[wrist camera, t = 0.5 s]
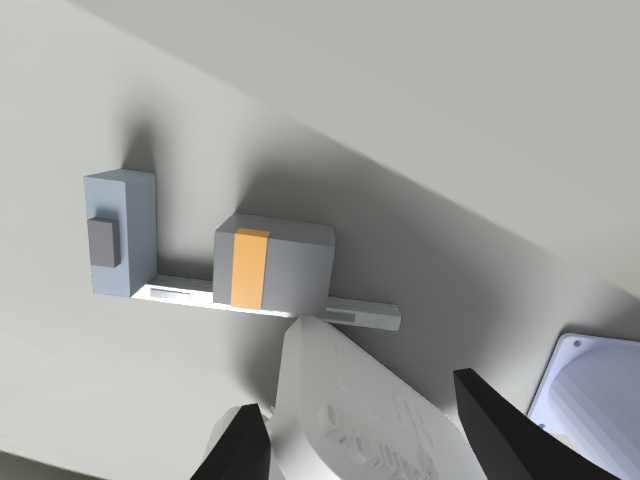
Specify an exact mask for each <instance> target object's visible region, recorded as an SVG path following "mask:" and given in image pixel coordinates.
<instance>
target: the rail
mask: <svg viewBox="0 0 640 480" xmlns="http://www.w3.org/2000/svg"><path fill="white" fill-rule="evenodd" d="M212 294H213V281H207V280H199V279H191V278H184V277H176V276H168V275H160V274H157V275H156V276H155V277H153V278H152V279H151V280H150V281H149V282H148V283H147V284H145V285H144V286H143V287H142V288H141V289H140V290H139V291H137V292H136V293H135V294H134V295H133V296H132V298H140V299H148V300H156V301H164V302H171V303H179V304H187V305H195V306H203V307H211V308H219V309H227V310H235V311H243V312H251V313H258V314H266V315H274V316H282V317H290V318H299V317H300V316H301V315H302V314H295V313H287V312H279V311H271V310H263V309H261V311H257V310H249V309H241V308H233V307H231V305H224V304H216V303H212ZM315 317H316V318H319V319H320V320H322V321H323V322H330V323H338V324H345V325H353V326H361V327H369V328H377V329H385V330H393V331H398V330H399V326H400V322H401V318H402V317H401V314H400V312H399V309H398V307H397V305H394V304H386V303H378V302H370V301H362V300H355V299H347V298H339V297H331V296H328V299H327V305H326V312H325V317H319V316H315Z"/></svg>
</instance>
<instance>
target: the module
mask: <svg viewBox="0 0 640 480" xmlns="http://www.w3.org/2000/svg"><path fill="white" fill-rule="evenodd" d="M335 249H336V245H335V234H334V226H331V225H324V224H316V223H309V222H301V221H294V220H287V219H279V218H272V217H264V216H257V215H249V214H242V213H234V214H233V215H232V216H231V217H229V218H228V219H227V220H226V221H225V222H224V223H223V224H222V225H221V226H220V227H219V228H218V229H217V230H216V231H215V245H214V269H213V294H212V303H216V304H224V305H231V307H233V308H241V309H249V310H257V311H261V309H263V310H271V311H279V312H287V313H295V314H303V315H311V316H319V317H325V312H326V305H327V299H328V293H329V286H330V280H331V274H332V268H333V261H334V255H335Z"/></svg>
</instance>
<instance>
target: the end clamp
mask: <svg viewBox="0 0 640 480" xmlns="http://www.w3.org/2000/svg"><path fill="white" fill-rule="evenodd" d="M84 185H85V198H86V210H87V224H88V236H89V249H90V261H91V271H92V283H93V293H95V294H103V295H111V296H119V297H127V298H131V297H132V296H133V295H134V294H135V293H136V292H137V291H139V290H140V289H141V288H142V287H143V286H144V285H145V284H147V283H148V282H149V281H150V280H151V279H152V278H153V277H155V276H156V275H157V226H156V174H155V173H148V172H141V171H133V170H126V169H117V170H112V171H108V172H103V173H98V174H93V175H88V176H84Z"/></svg>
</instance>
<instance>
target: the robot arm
mask: <svg viewBox="0 0 640 480" xmlns="http://www.w3.org/2000/svg"><path fill="white" fill-rule="evenodd" d="M575 341H577V342H576V343H574V342H575ZM453 374H454V382H455V390H456V399H457V407H458V415H459V418H460V420H461V423H462V426H463V428H464V431H465V434H466V436H467V439H468V441H469V444H470V446H471V448H472V450H473V452H474V454H475V456H476V458H477V460H478V462H479V464H480V466H481V468H482V470H483V472H484V474H485V476H486V477H487V479H488V480H640V342H635V341H627V340H620V339H612V338H604V337H596V336H588V335H581V334H573V333H566V334H563V335H562V336H561V337H560V338H559V341H558V343H557V345H556V348H555V350H554V353H553V355H552V357H551V360H550V362H549V365H548V367H547V369H546V372H545V374H544V377H543V379H542V381H541V384H540V386H539V389H538V391H537V394H536V396H535V398H534V401H533V403H532V406H531V408H530V410H529V413H528V415H527V417H526V416H525V415H524V414H523V413H521V412H520V411H519V410H518V409H516V408H515V407H514V406H513V405H512V404H510V403H509V402H508V401H507V400H506V399H504V398H503V397H502V396H501V395H500V394H499V393H498V392H497V391H495V390H494V389H493V388H492V387H491V386H490V385H489V384H488V383H487V382H485V381H484V380H483V379H482V378H481V377H480V376H479V375H478V374H477V373H476V372H475V371H474V370H472V369H471V368H468V369H462V370H455V371H453ZM547 432H549V433H558V434H566V435H567V436H568V438H569V439H570V440H571V441H572V443H573V444H574V445H575V446H576V448H577V449H578V450H579V452H580V453H581V454H582V455H583V456H581V455H579V454H578V453H576V452H575V451H573V450H572V449H570V448H569V447H567V446H566V445H564V444H563V443H561V442H560V441H559V440H557V439H556V438H554V437H553V436H552V435H550V434H549V433H547ZM271 445H272V444H271V441H270V438H269V435H268V432H267V429H266V426H265V424H264V421H263V418H262V415H261V412H260V409H259V406H258V403H256V404H250V405H243V406H242V407H241V408H240V410H239V411H238V412H237V414H236V415H235V417H234V418H233V420H232V421H231V423H230V424H229V426H228V427H227V429H226V430H225V432H224V433H223V435H222V436H221V438H220V439H219V440H218V442H217V443H216V445H215V446H214V448H213V449H212V450H211V452H210V453H209V455H208V456H207V458H206V459H205V460H204V462H203V463H202V464H201V466H200V467H199V468H198V470H197V471H196V472H195V474H194V475H193V476H192V477H191V479H190V480H268V478H269V471H270V460H271Z"/></svg>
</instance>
